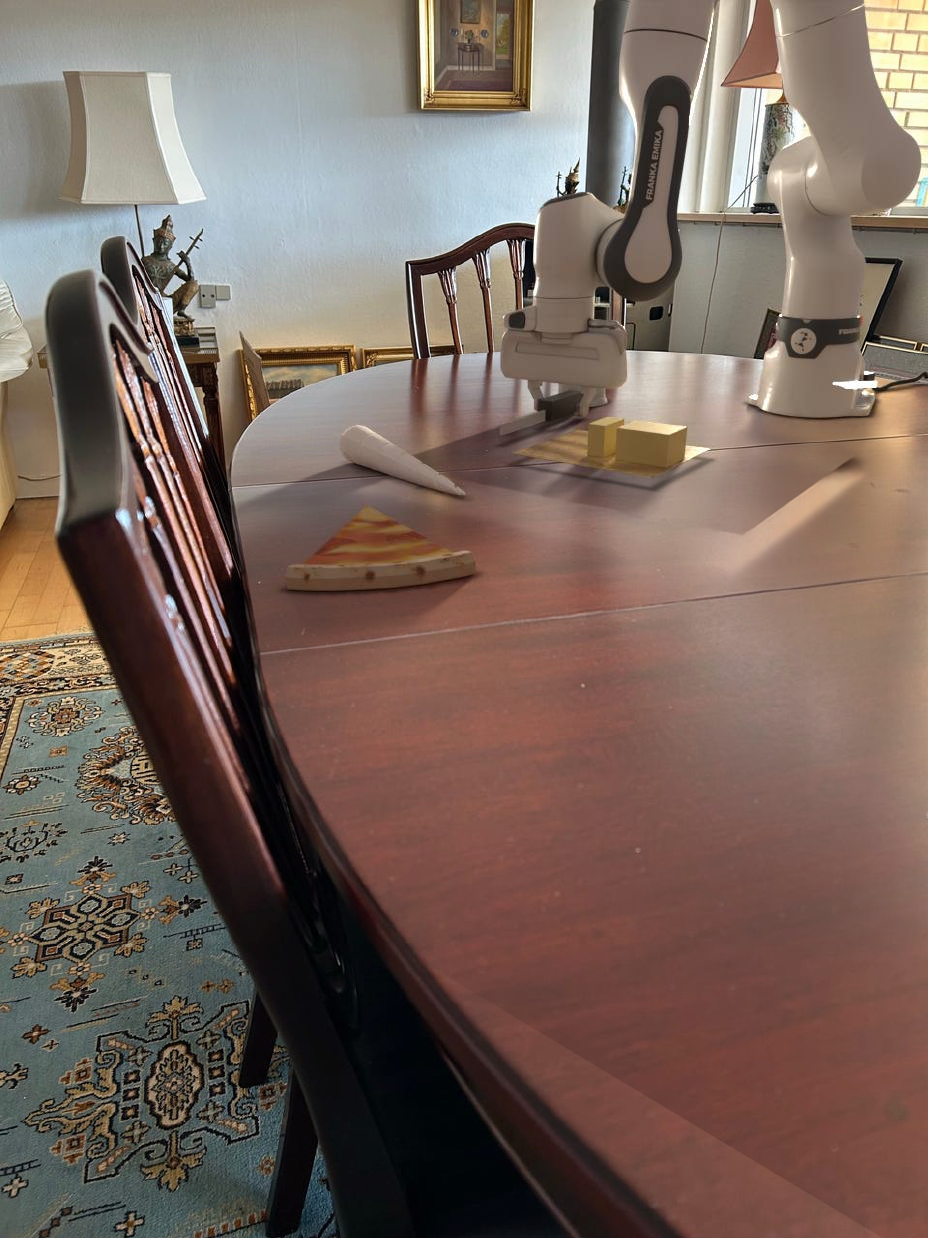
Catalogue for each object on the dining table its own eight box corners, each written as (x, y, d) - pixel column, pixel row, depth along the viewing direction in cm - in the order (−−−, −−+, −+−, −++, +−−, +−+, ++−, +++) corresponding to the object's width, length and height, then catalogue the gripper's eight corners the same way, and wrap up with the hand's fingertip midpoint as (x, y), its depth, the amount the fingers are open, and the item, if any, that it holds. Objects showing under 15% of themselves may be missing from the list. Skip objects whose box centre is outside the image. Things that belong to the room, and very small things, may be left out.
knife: (569, 418, 139) (570, 389, 137) (582, 420, 138) (583, 391, 136) (494, 444, 125) (493, 412, 123) (508, 446, 124) (508, 414, 122)
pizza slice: (507, 520, 95) (507, 502, 94) (459, 603, 75) (458, 581, 74) (367, 512, 98) (365, 495, 97) (286, 590, 79) (284, 569, 78)
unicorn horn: (438, 505, 100) (437, 463, 98) (338, 463, 118) (335, 426, 116) (472, 497, 102) (472, 456, 100) (370, 457, 120) (367, 421, 118)
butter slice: (606, 446, 116) (607, 416, 115) (622, 449, 115) (624, 418, 113) (586, 455, 113) (588, 423, 111) (603, 457, 112) (604, 425, 110)
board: (576, 439, 127) (576, 429, 126) (709, 459, 115) (710, 448, 115) (511, 464, 115) (511, 453, 115) (652, 489, 104) (653, 477, 103)
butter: (633, 451, 114) (635, 419, 113) (684, 458, 110) (687, 426, 109) (614, 459, 111) (616, 427, 109) (666, 467, 107) (669, 434, 105)
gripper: (638, 318, 125) (632, 417, 131) (518, 311, 137) (517, 402, 143) (616, 323, 121) (611, 425, 127) (494, 315, 132) (494, 409, 138)
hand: (560, 413), depth 135 cm, fingers open, 6 cm apart
